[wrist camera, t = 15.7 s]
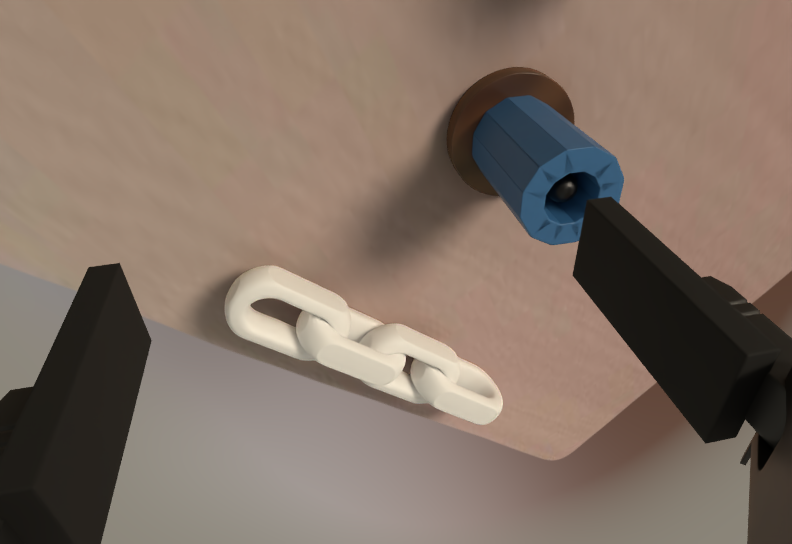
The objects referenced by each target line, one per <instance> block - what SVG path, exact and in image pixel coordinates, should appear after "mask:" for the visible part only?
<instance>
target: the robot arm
mask: <svg viewBox="0 0 792 544" xmlns="http://www.w3.org/2000/svg"><path fill="white" fill-rule="evenodd" d="M573 276H574V278H575V279H576V280H577V281H578V283H579V284H580V285H581V286H582V288H583V289H584V290H585V292H586V293H587V294H588V295H589V297H590V298H591V299H592V300H593V302H594V303H595V304H596V305H597V307H598V308H599V309H600V311H601V312H602V313H603V314H604V316H605V317H606V318H607V319H608V321H609V322H610V323H611V324H612V326H613V327H614V328H615V329H616V331H617V332H618V333H619V335H620V336H621V337H622V338H623V340H624V341H625V342H626V343H627V345H628V346H629V347H630V348H631V350H632V351H633V352H634V354H635V355H636V356H637V357H638V359H639V360H640V361H641V362H642V364H643V365H644V366H645V367H646V369H647V370H648V371H649V373H650V374H651V375H652V376H653V378H654V379H655V380H656V381H657V383H658V384H659V385H660V386H661V388H662V389H663V390H664V391H665V393H666V394H667V395H668V396H669V398H670V399H671V400H672V402H673V403H674V404H675V405H676V407H677V408H678V409H679V410H680V412H681V413H682V414H683V416H684V417H685V418H686V419H687V420H688V422H689V423H690V424H691V426H692V427H693V428H694V429H695V431H696V432H697V433H698V435H699V436H700V437H701V438H702V440H703V441H704V442H705V443H710V442H715V441H720V440H725V439H730V438H735V437H736V436H737V434H738V432H739V430H740V428H741V426H742V424H743V423H744V421H745V419H746V421H747V422H748V423H750V425H751V426H752V427H753V428H754V429H755V431H756V433H755V435H754V437H753V439H752V440H751V442H750V444H749V446H748V448H747V450H746V452H745V453H744V455H743V457H742V459H741V462H740V463H741V464H744V465H746V463H747V462H748V460H749V458H751V467H750V491H749V517H748V541H747V544H792V338H791V337H789V336H788V335H787V334H786V333H785V332H784V331H782V330H781V329H780V328H779V327H778V326H777V325H775V324H774V323H773V322H772V321H771V320H770V319H768V318H767V317H766V316H765V315H764V314H760V311H759V310H758V309H757V308H756V307H754V306H753V305H752V304H751V303H747V300H746V299H745V298H744V297H743V296H742V295H741V294H739V293H738V292H737V291H736V290H735V289H734V288H732V287H731V286H729V285H727V284H725V283H723V282H721V281H719V280H717V279H715V278H713V277H711V276H708V277H702V278H701V277H700V276H699V275H698V274H697V273H696V272H694V271H693V270H692V269H691V268H690V267H689V266H688V265H687V264H686V263H684V262H683V261H682V260H681V259H680V258H679V257H678V256H677V255H676V254H674V253H673V252H672V251H671V250H670V249H669V248H668V247H667V246H665V245H664V244H663V243H662V242H661V241H660V240H659V239H658V238H657V237H655V236H654V235H653V234H652V233H651V232H650V231H649V230H648V229H647V228H645V227H644V226H643V225H642V224H641V223H640V222H639V221H638V220H637V219H635V218H634V217H633V216H632V215H631V214H630V213H629V212H628V211H626V210H625V209H624V208H623V207H622V206H621V205H620V204H619V203H618V202H616V201H615V200H614V199H613V198H612V197H604V198H597V199H589V200H587V202H586V207H585V212H584V218H583V223H582V228H581V234H580V239H579V244H578V250H577V255H576V260H575V265H574V271H573ZM150 344H151V338H150V336H149V333H148V331H147V328H146V326H145V324H144V321H143V319H142V316H141V314H140V311H139V309H138V307H137V304H136V302H135V299H134V297H133V294H132V292H131V290H130V287H129V285H128V282H127V280H126V277H125V275H124V273H123V270H122V268H121V265H120V263H117V264H109V265H102V266H95V267H89V268H88V270H87V272H86V274H85V276H84V279H83V281H82V283H81V285H80V287H79V289H78V292H77V294H76V296H75V298H74V300H73V302H72V305H71V307H70V309H69V311H68V313H67V315H66V317H65V320H64V322H63V324H62V326H61V328H60V330H59V333H58V335H57V337H56V339H55V342H54V343H53V346H52V348H51V350H50V352H49V354H48V357H47V359H46V361H45V363H44V365H43V367H42V369H41V372H40V374H39V376H38V378H37V380H36V382H35V384H34V386H33V387H28V388H21V389H15V390H10V391H9V392H8V393H7V394H6V395H5V396H4V397H3V398H2V400H0V544H101V540H102V536H103V532H104V528H105V524H106V520H107V516H108V512H109V508H110V504H111V500H112V496H113V492H114V488H115V484H116V480H117V476H118V472H119V468H120V464H121V460H122V456H123V452H124V448H125V444H126V440H127V436H128V432H129V428H130V424H131V420H132V416H133V412H134V408H135V404H136V400H137V396H138V392H139V388H140V384H141V380H142V376H143V372H144V368H145V364H146V360H147V356H148V352H149V348H150Z"/></svg>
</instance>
